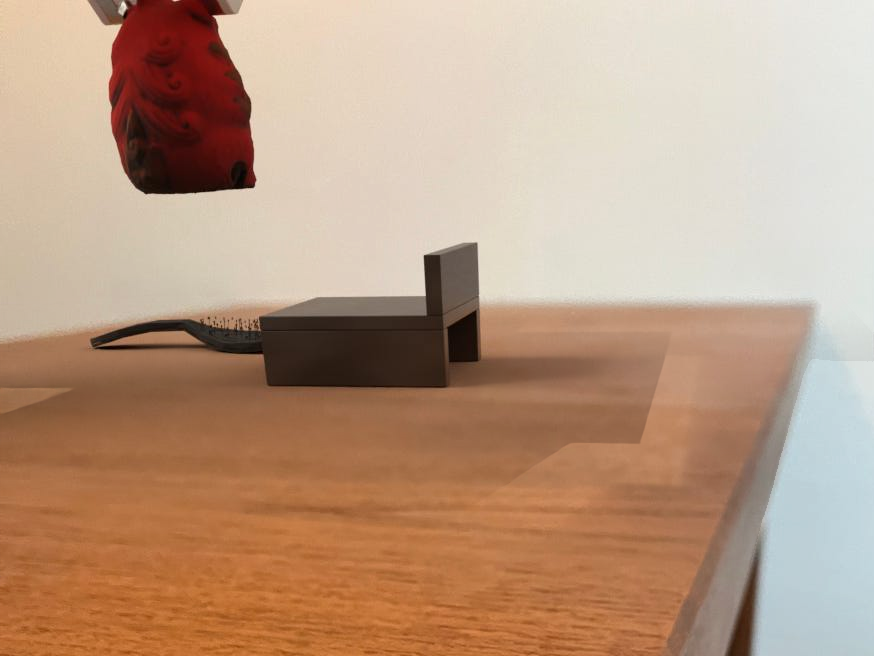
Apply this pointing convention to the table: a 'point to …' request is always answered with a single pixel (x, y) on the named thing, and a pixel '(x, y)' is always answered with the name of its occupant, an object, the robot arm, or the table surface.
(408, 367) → the brown miniature bench
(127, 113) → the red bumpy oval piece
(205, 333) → the hairbrush
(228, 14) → the robot arm
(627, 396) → the table surface
